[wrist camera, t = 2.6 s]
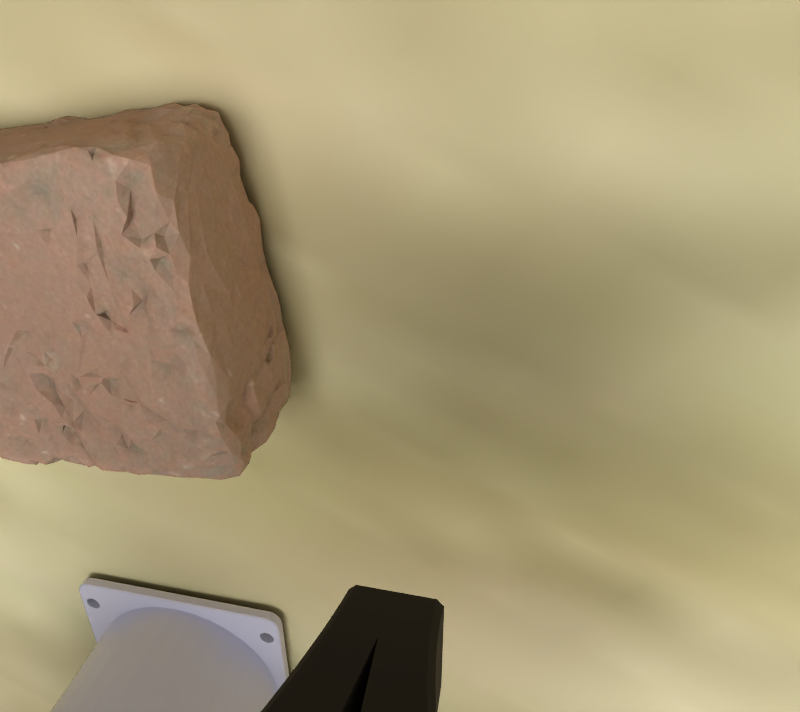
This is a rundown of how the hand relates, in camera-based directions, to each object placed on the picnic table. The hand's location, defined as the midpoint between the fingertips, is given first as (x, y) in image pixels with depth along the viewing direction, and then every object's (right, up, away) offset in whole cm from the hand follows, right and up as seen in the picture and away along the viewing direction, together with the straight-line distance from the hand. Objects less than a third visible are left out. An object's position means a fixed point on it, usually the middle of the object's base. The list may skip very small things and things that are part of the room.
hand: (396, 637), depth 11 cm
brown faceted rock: (-11, +7, +11) cm, 17 cm away
